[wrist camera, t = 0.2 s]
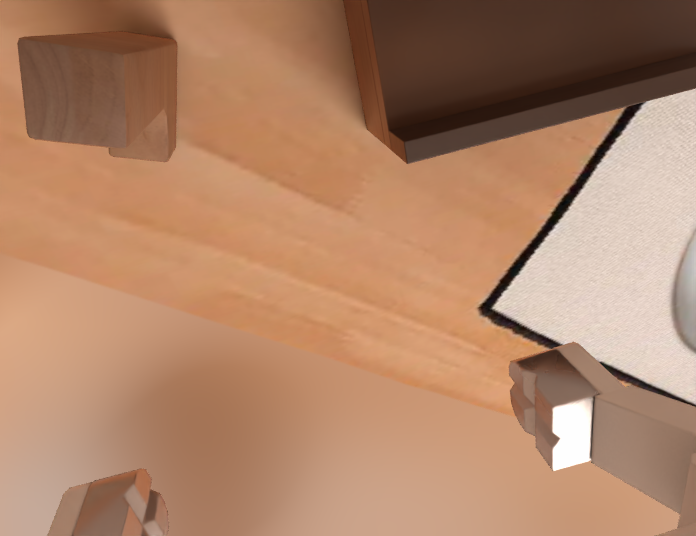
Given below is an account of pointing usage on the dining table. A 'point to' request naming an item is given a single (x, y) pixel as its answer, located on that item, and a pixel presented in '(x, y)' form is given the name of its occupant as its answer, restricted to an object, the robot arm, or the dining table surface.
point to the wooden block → (102, 91)
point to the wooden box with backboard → (510, 65)
